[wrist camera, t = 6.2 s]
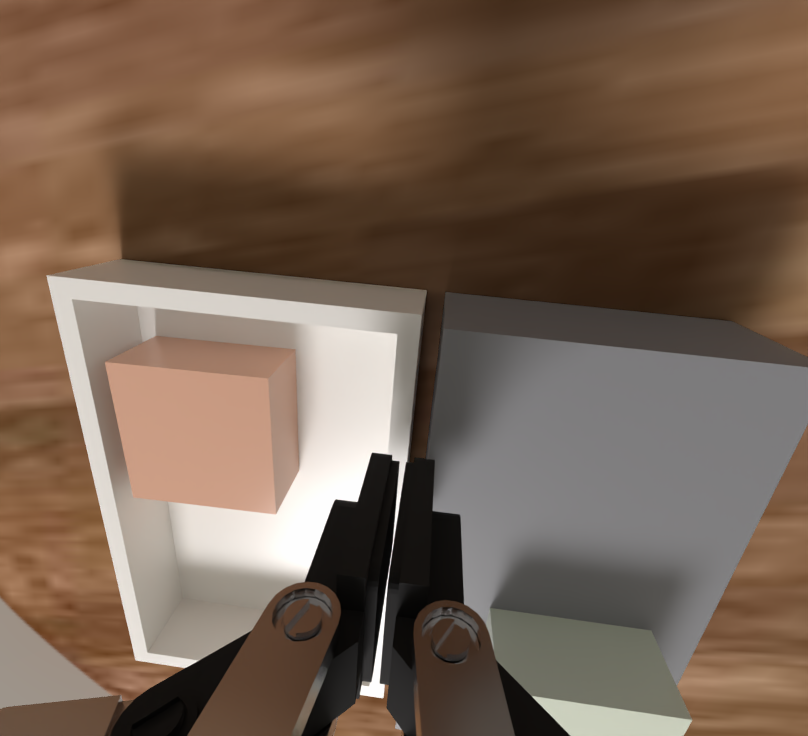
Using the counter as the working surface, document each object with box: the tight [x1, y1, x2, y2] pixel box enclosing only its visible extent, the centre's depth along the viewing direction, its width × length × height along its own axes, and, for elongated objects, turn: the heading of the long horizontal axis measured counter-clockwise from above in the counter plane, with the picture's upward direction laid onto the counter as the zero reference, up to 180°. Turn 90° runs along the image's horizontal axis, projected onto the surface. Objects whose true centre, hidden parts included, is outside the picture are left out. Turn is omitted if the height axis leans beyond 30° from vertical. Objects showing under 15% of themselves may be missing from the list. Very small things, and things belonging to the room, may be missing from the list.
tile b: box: [486, 608, 692, 736], centre depth 14 cm, size 5×5×2 cm
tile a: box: [105, 336, 299, 515], centre depth 15 cm, size 5×5×2 cm
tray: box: [47, 259, 427, 698], centre depth 16 cm, size 16×10×3 cm, turn 175°
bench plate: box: [395, 292, 808, 730], centre depth 15 cm, size 16×9×4 cm, turn 175°
